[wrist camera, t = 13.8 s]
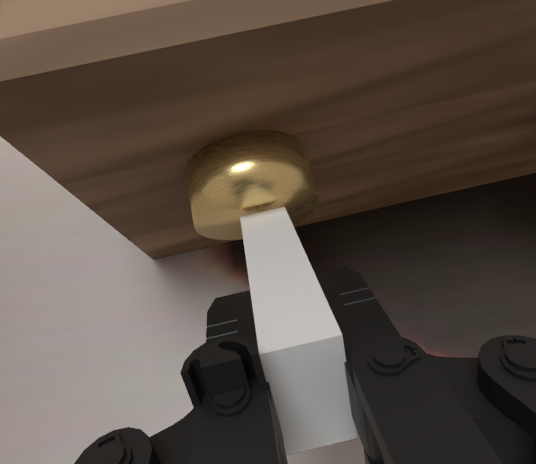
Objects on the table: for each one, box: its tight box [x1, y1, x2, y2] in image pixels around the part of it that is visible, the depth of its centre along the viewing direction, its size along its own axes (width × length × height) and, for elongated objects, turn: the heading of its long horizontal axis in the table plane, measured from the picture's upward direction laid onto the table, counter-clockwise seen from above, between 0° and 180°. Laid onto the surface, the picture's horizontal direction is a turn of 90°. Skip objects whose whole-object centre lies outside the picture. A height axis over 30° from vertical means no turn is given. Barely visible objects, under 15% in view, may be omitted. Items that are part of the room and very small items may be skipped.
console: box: [0, 0, 536, 259], centre depth 17 cm, size 10×26×14 cm, turn 103°
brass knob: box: [185, 130, 319, 240], centre depth 15 cm, size 6×4×4 cm
